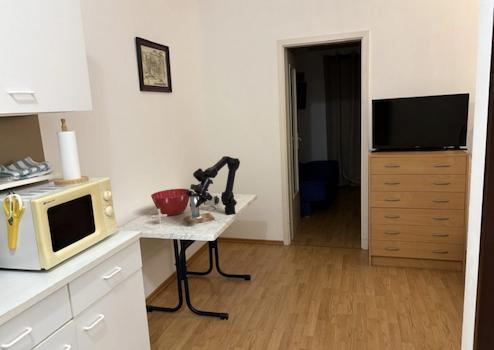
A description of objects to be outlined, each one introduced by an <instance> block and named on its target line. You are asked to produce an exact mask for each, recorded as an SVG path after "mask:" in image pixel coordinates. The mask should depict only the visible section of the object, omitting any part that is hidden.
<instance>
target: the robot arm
mask: <svg viewBox="0 0 494 350" xmlns="http://www.w3.org/2000/svg"><path fill="white" fill-rule="evenodd" d="M240 163H241V161H240V159H239V158H238V157H237V158H235V157H231V156H227V155H226V156H222V157H221V158H220V159H219V161H217V162H216V163H215V164H214V165H212V166H210V167H208V168H206V169H204V170H203V169H202V168H198V169H197V170H195V171H194V172H193V174H192V175H193V177H194V178H195V179H196V180H197V181H198V182H199V183H197V184H194V183H193V184H190V187H189V190H190V191H189V190H188V191H187V192H186V194H187V195H188V196H189V198H190V196H195V195H196V196H198V202H197V204H196V208H197V207H199V208H200V206H201V205H202V204H204V202H206V201H207V199H208V200H209V201H211V200H212V196H211V193H210V192H209V187H210V185H213V184H214V181H213V179H214V178H216V177H217V176H218V174H219V171H220V170H222V168H224V166H226V165H227V168H228V171H227V172H228V173H227V180H226V186H225V189H224V191H222V192H221V196H220V200H221V201H220V202H221V203H222V205H223V206H224V209H223V210H224V214H225V215H227V216H229V215H236V214H237V212H236V206H237V204H238V201H237V200H236V199H235V195H234V192H233V190H234V186H235V185H234V184H235V180H236V179H235V178H236V172H237V171H238V169H239V168H240ZM189 207H190V208H191V204H190V203H189Z"/></svg>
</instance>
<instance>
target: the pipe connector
mask: <svg viewBox="0 0 494 350" xmlns="http://www.w3.org/2000/svg"><path fill="white" fill-rule="evenodd" d="M156 209H157V208H156ZM167 217H168V216H167V214H162V213H160V209H157V214H156V215H154V214H153V215H151V219H157V221H158V224H159V225H162V218H167Z"/></svg>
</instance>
